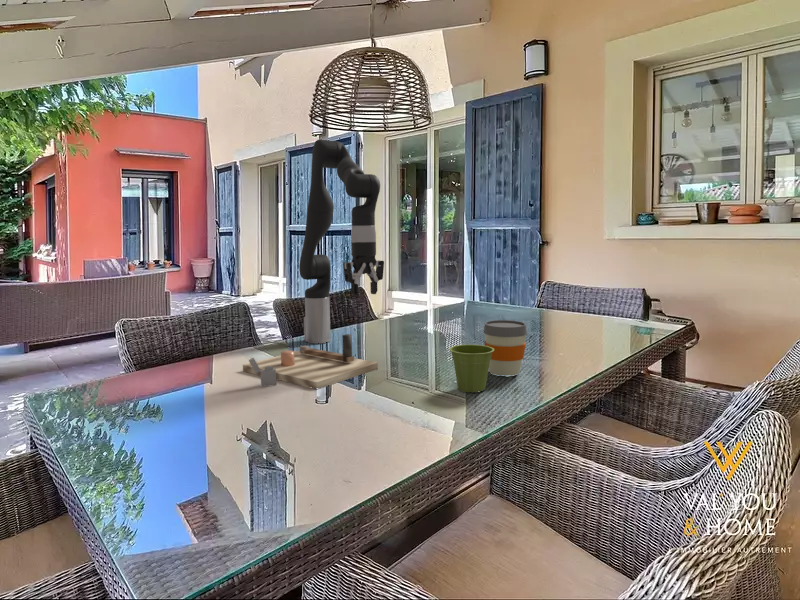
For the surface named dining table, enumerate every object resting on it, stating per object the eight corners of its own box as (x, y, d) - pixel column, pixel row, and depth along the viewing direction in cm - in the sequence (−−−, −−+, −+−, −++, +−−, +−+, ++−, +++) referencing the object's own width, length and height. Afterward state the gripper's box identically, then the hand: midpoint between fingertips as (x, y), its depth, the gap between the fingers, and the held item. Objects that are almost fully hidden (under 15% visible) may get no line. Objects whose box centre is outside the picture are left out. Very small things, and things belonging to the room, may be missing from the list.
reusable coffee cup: (494, 365, 169) (495, 318, 167) (532, 371, 161) (533, 322, 159) (475, 374, 159) (476, 324, 157) (515, 381, 151) (516, 329, 149)
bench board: (242, 371, 164) (242, 364, 164) (305, 354, 185) (305, 349, 185) (317, 389, 145) (316, 382, 145) (377, 368, 166) (377, 362, 166)
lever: (298, 352, 176) (297, 328, 175) (304, 351, 178) (304, 327, 177) (347, 362, 163) (347, 336, 162) (354, 360, 165) (354, 335, 164)
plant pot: (500, 387, 146) (501, 346, 144) (482, 399, 136) (483, 355, 135) (461, 381, 152) (461, 342, 151) (441, 391, 142) (441, 350, 141)
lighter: (276, 383, 151) (275, 355, 150) (276, 385, 150) (275, 357, 148) (250, 385, 149) (248, 357, 148) (250, 387, 148) (248, 359, 147)
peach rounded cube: (278, 365, 163) (277, 352, 163) (288, 362, 167) (288, 349, 166) (287, 367, 161) (286, 354, 160) (297, 364, 164) (296, 351, 164)
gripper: (375, 240, 172) (376, 292, 174) (337, 241, 163) (338, 295, 165) (389, 240, 166) (390, 294, 168) (350, 241, 157) (351, 298, 159)
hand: (364, 294), depth 167 cm, fingers open, 6 cm apart
